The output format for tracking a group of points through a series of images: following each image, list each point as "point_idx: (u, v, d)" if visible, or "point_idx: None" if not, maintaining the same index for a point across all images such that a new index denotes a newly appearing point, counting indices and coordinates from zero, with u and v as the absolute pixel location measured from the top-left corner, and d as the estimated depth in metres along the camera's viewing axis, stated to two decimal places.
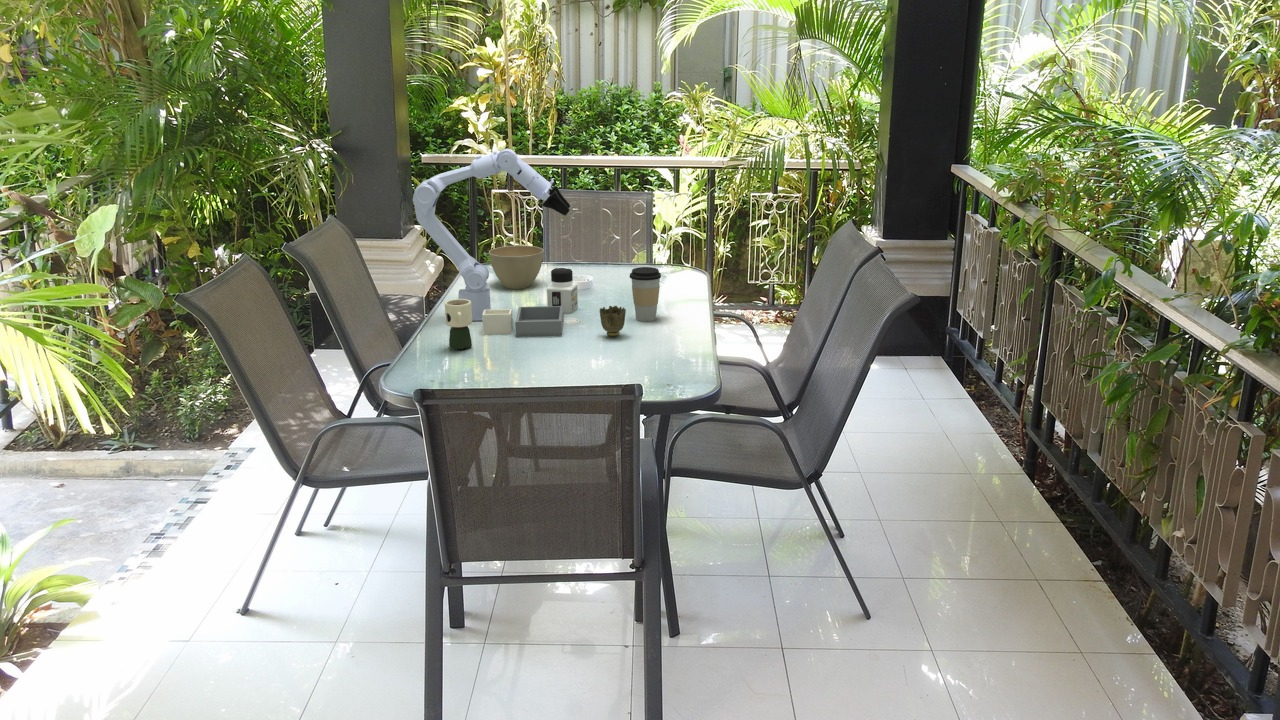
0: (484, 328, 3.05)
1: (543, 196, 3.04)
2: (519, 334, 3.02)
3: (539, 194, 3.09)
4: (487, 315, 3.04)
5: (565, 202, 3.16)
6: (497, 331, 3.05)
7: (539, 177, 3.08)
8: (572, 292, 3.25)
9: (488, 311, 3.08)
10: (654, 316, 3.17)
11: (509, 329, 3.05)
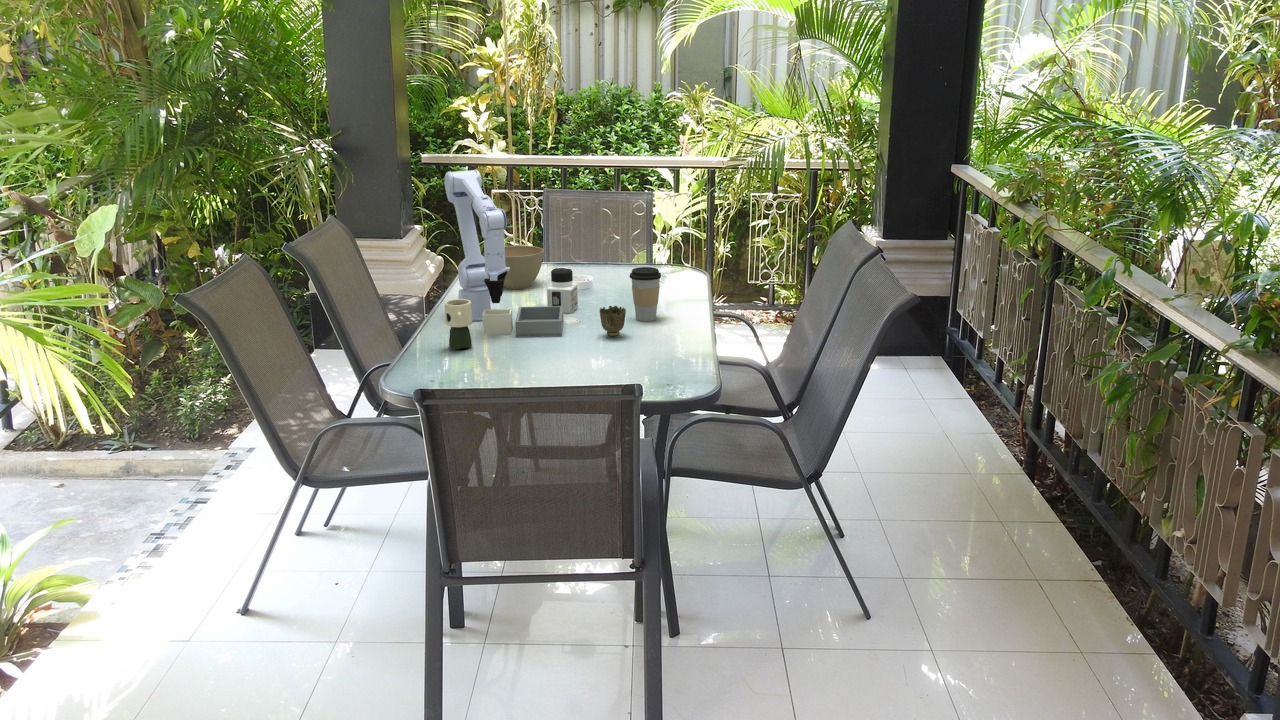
0: (484, 328, 3.05)
1: (492, 276, 2.96)
2: (519, 334, 3.02)
3: (490, 269, 3.00)
4: (487, 315, 3.04)
5: (501, 290, 3.08)
6: (497, 331, 3.05)
7: (502, 257, 3.00)
8: (572, 292, 3.25)
9: (488, 311, 3.08)
10: (654, 316, 3.17)
11: (509, 329, 3.05)
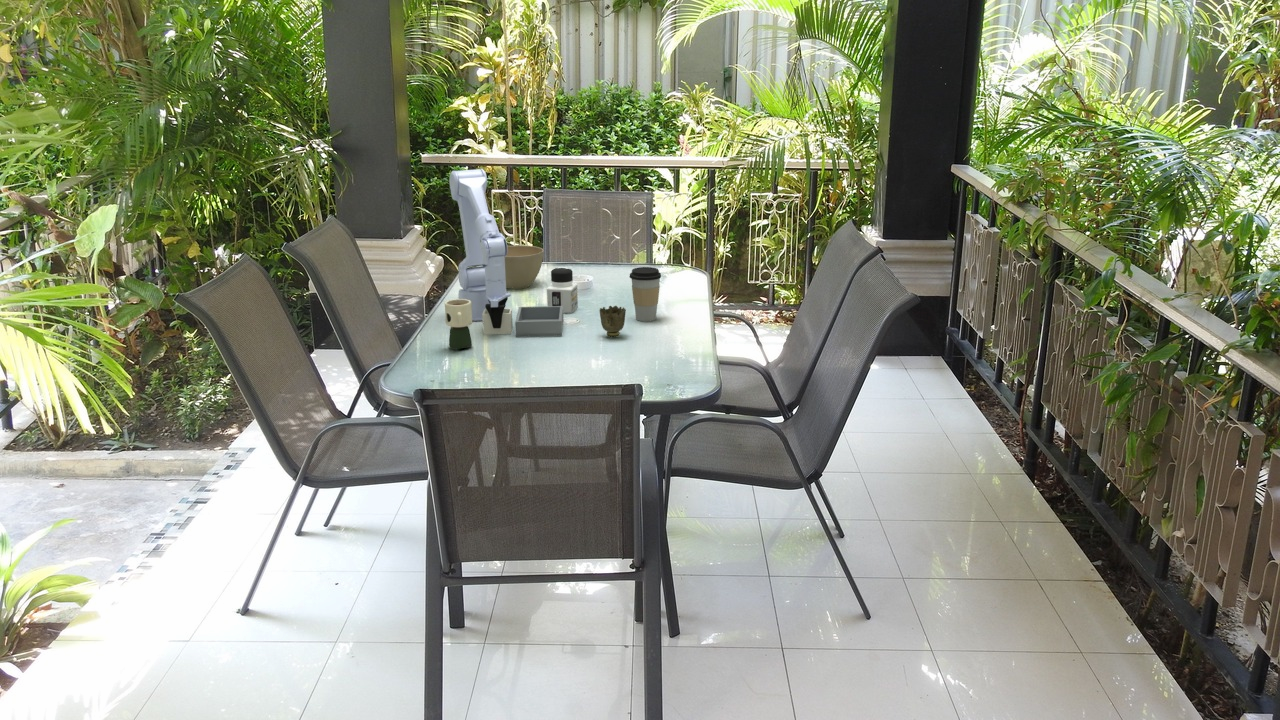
0: (484, 328, 3.05)
1: (492, 302, 2.98)
2: (519, 334, 3.02)
3: (490, 295, 3.02)
4: (487, 315, 3.04)
5: None
6: (497, 331, 3.05)
7: (503, 283, 3.02)
8: (572, 292, 3.25)
9: None
10: (654, 316, 3.17)
11: (509, 329, 3.05)
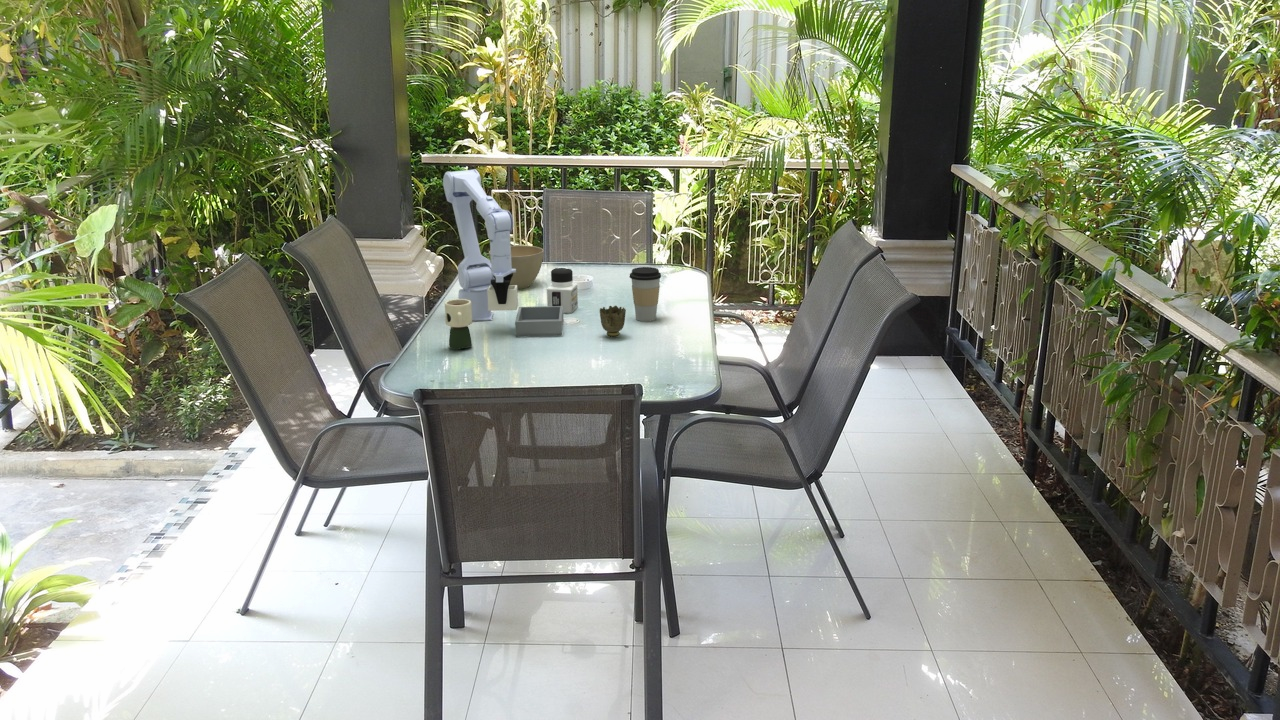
0: (489, 304, 3.03)
1: (498, 277, 2.96)
2: (519, 334, 3.02)
3: (496, 270, 3.00)
4: (492, 290, 3.02)
5: None
6: (502, 307, 3.03)
7: (508, 259, 3.00)
8: (572, 292, 3.25)
9: None
10: (654, 316, 3.17)
11: (514, 305, 3.03)
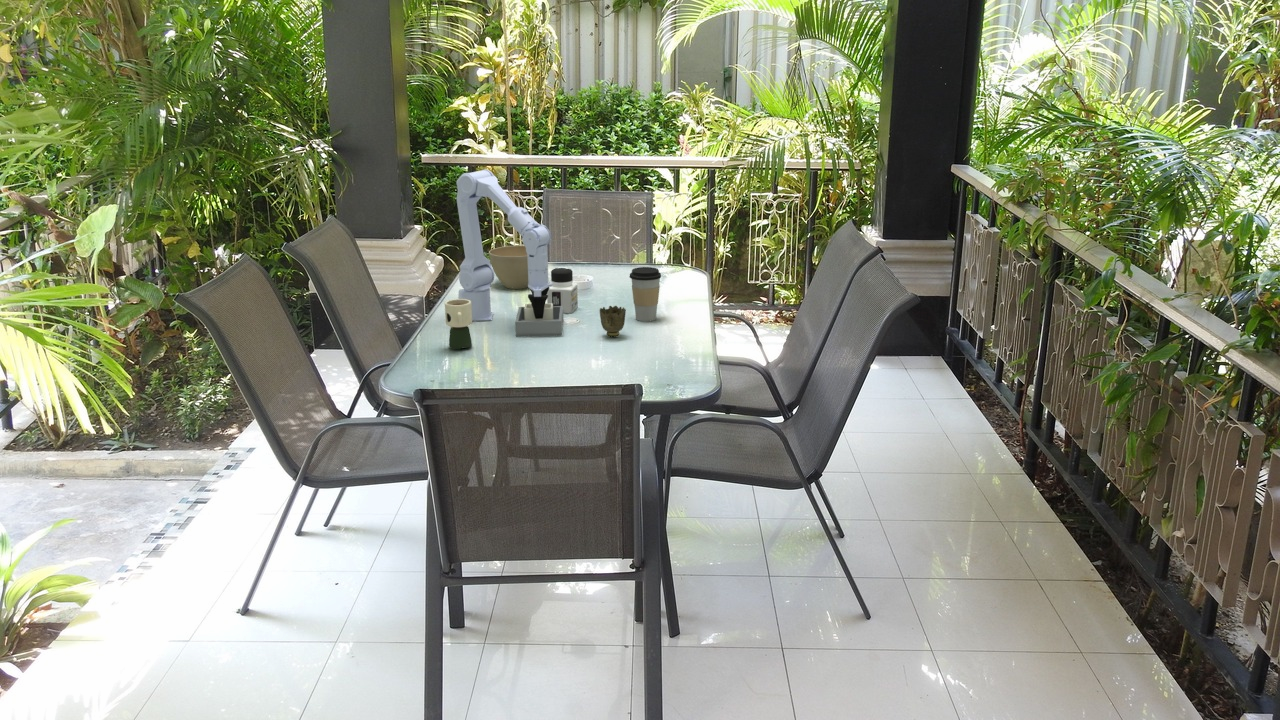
0: None
1: (536, 292, 3.00)
2: (519, 334, 3.02)
3: (533, 285, 3.04)
4: (529, 309, 3.06)
5: None
6: None
7: (546, 273, 3.04)
8: (572, 292, 3.25)
9: (529, 305, 3.10)
10: (654, 316, 3.17)
11: None
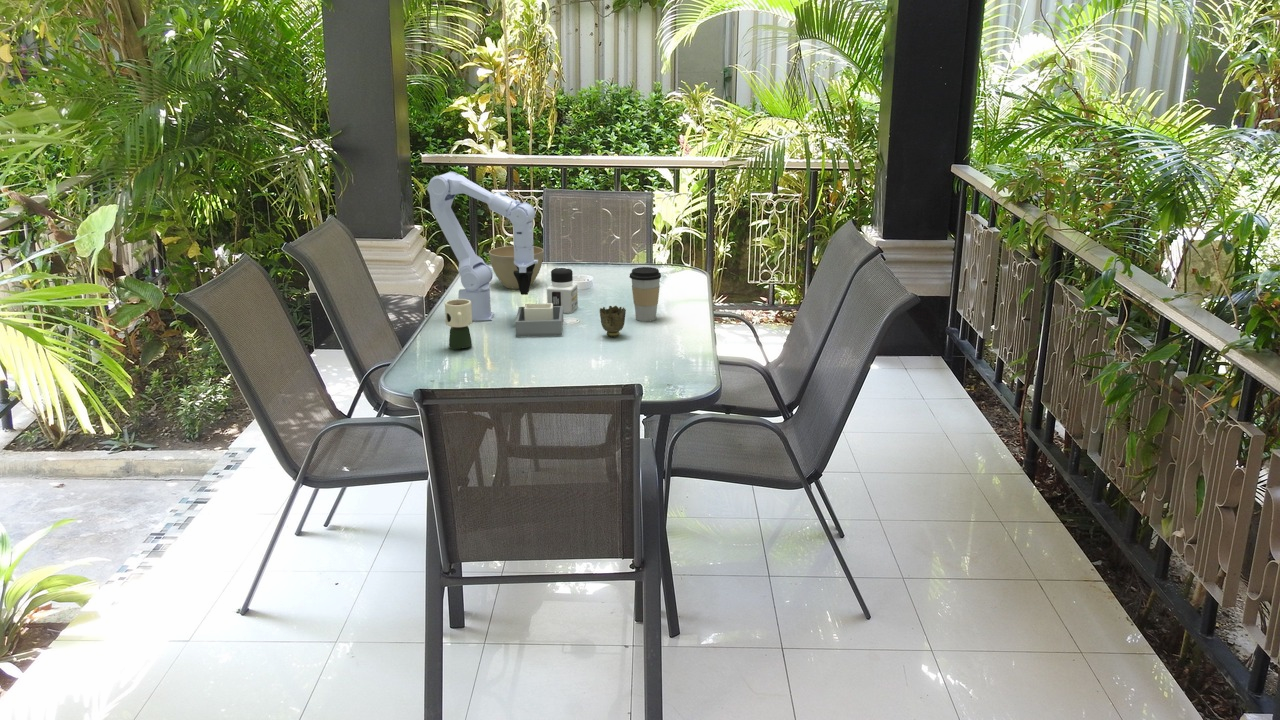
0: None
1: (521, 268, 3.05)
2: (519, 334, 3.02)
3: (519, 261, 3.09)
4: (529, 309, 3.06)
5: None
6: None
7: (531, 250, 3.09)
8: (572, 292, 3.25)
9: (529, 305, 3.10)
10: (654, 316, 3.17)
11: None
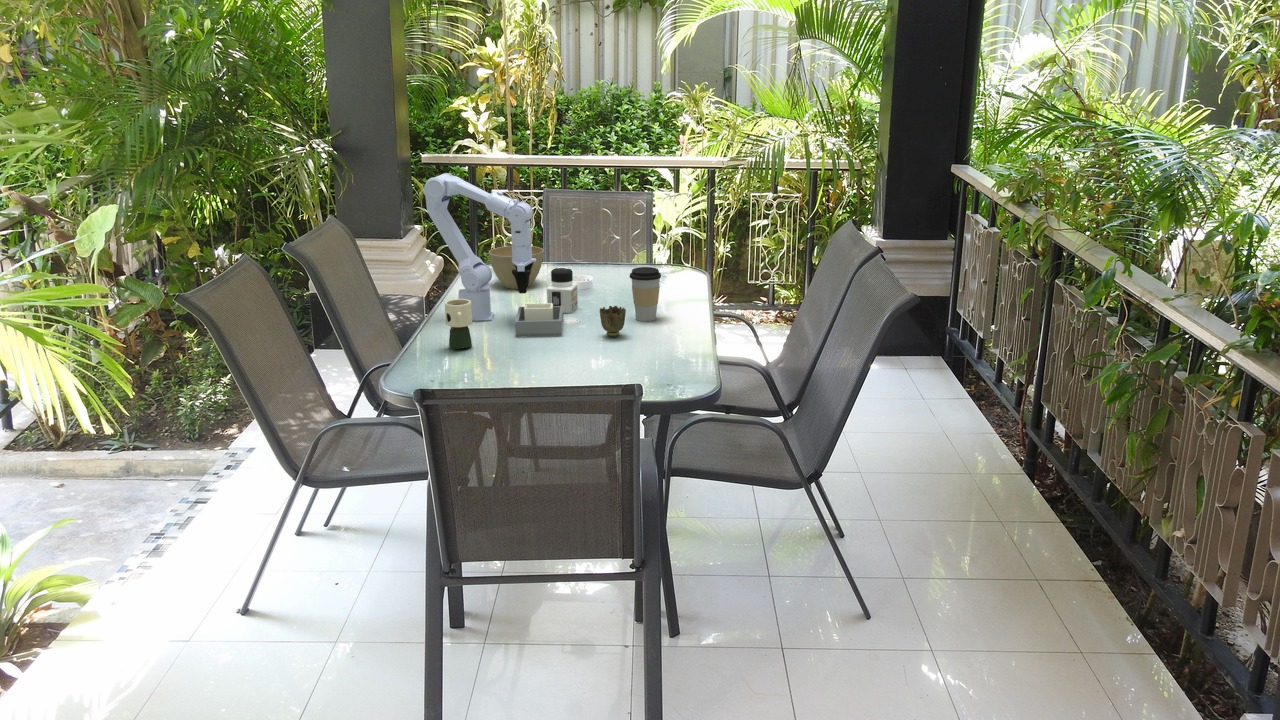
0: None
1: (519, 267, 3.06)
2: (519, 334, 3.02)
3: (517, 260, 3.10)
4: (529, 309, 3.06)
5: None
6: None
7: (529, 249, 3.11)
8: (572, 292, 3.25)
9: (529, 305, 3.10)
10: (654, 316, 3.17)
11: None
